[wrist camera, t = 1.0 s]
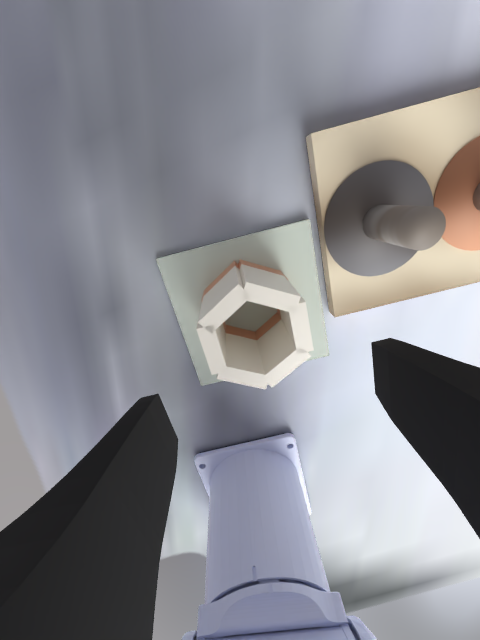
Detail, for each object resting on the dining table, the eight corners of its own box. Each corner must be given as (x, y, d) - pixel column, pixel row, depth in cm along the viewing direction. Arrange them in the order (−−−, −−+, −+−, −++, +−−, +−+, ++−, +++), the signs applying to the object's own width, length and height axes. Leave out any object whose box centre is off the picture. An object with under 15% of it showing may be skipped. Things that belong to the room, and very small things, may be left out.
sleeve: (308, 301, 18) (337, 335, 14) (243, 357, 19) (249, 406, 15) (253, 241, 17) (265, 257, 12) (186, 307, 18) (173, 344, 13)
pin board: (515, 265, 18) (613, 287, 14) (329, 311, 19) (363, 347, 14) (539, 73, 15) (686, 14, 10) (305, 137, 15) (342, 109, 11)
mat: (327, 352, 20) (329, 355, 20) (201, 382, 21) (201, 386, 20) (307, 218, 17) (309, 219, 16) (157, 258, 17) (155, 259, 17)
